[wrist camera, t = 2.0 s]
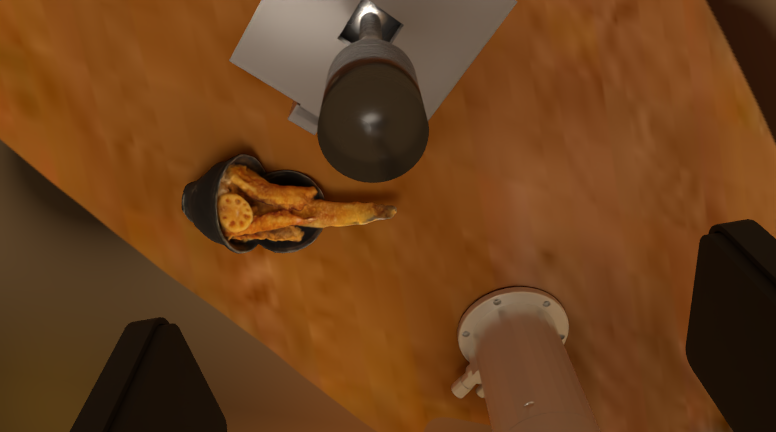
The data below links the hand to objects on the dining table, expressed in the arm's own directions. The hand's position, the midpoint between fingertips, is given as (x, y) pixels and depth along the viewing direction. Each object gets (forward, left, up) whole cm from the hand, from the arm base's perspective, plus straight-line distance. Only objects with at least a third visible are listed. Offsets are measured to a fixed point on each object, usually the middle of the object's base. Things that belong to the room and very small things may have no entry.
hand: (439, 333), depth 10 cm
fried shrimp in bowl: (-21, -3, -41) cm, 46 cm away
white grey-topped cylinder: (-2, +1, -40) cm, 40 cm away
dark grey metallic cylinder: (-1, +1, -26) cm, 26 cm away
